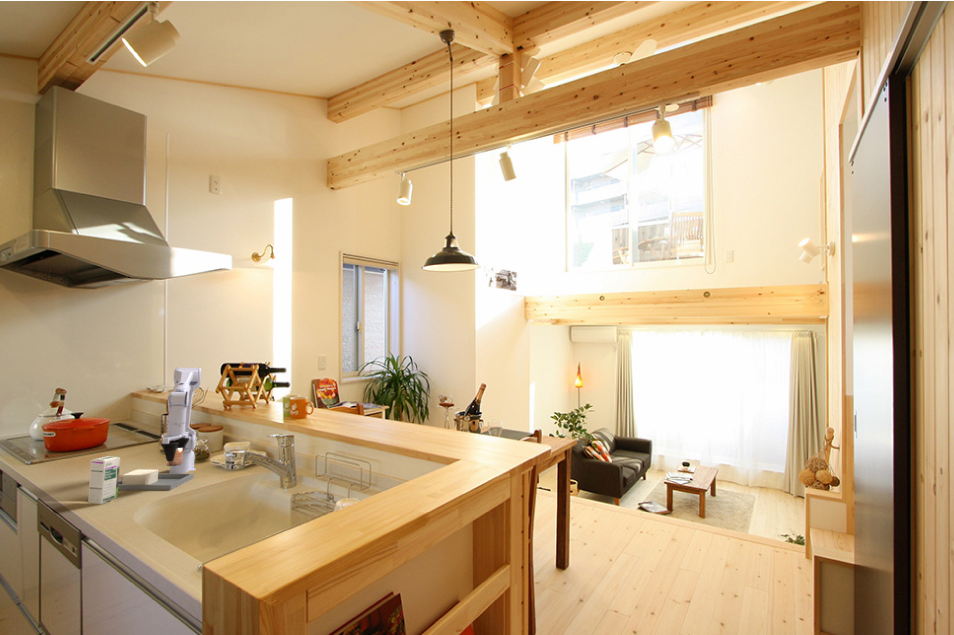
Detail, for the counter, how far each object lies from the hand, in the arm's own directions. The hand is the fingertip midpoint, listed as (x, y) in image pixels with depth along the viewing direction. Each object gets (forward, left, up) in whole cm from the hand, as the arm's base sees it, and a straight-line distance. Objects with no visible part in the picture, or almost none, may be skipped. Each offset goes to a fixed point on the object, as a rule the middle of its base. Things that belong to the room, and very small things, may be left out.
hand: (174, 459), depth 178 cm
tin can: (0, 0, -2) cm, 2 cm away
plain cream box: (0, -11, -9) cm, 15 cm away
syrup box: (+18, -13, -10) cm, 24 cm away
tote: (0, -7, -10) cm, 12 cm away
